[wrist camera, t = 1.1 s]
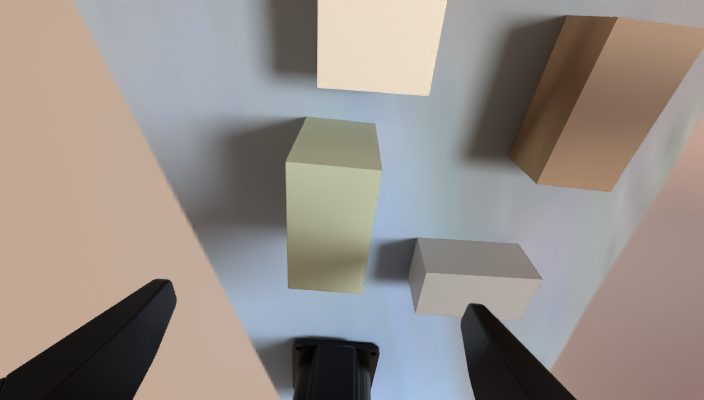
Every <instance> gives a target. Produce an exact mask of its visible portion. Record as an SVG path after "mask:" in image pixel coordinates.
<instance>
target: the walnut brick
mask: <svg viewBox="0 0 704 400" xmlns="http://www.w3.org/2000/svg"><path fill="white" fill-rule="evenodd" d="M703 47H704V29H701V28H694V27H686V26H679V25H672V24H664V23H657V22H650V21H642V20H635V19H628V18H620V17H599V16H572V15H567V16H566V19H565V21H564V24H563V26H562V28H561V31H560V33H559V36H558V38H557V41H556V43H555V45H554V48H553V50H552V53H551V55H550V57H549V60H548V62H547V65H546V67H545V70H544V72H543V74H542V77H541V79H540V82H539V84H538V86H537V89H536V91H535V94H534V96H533V98H532V101H531V103H530V106H529V108H528V111H527V113H526V115H525V118H524V120H523V123H522V125H521V127H520V130H519V132H518V135H517V137H516V140H515V142H514V144H513V147H512V149H511V152H510V154H509V157H510V158H511V159H512V160H513V161H514V162H515V163H516V164H517V165H518V166H519V167H520V168H521V169H522V170H523V171H524V172H525V173H526V174H527V175H528V176H529V177H530V178H531V179H532V180H533V181H534V182H535V183H536V184H542V185H551V186H560V187H569V188H578V189H588V190H597V191H606V192H610V191H611V190H612V188H613V187H614V185H615V184H616V182H617V181H618V179H619V177H620V176H621V174H622V173H623V171H624V170H625V168H626V167H627V165H628V163H629V162H630V160H631V159H632V157H633V156H634V154H635V153H636V151H637V150H638V148H639V146H640V145H641V143H642V142H643V140H644V139H645V137H646V136H647V134H648V133H649V131H650V129H651V128H652V126H653V125H654V123H655V122H656V120H657V119H658V117H659V115H660V114H661V112H662V111H663V109H664V108H665V106H666V105H667V103H668V102H669V100H670V98H671V97H672V95H673V94H674V92H675V91H676V89H677V88H678V86H679V84H680V83H681V81H682V80H683V78H684V77H685V75H686V74H687V72H688V71H689V69H690V67H691V66H692V64H693V63H694V61H695V60H696V58H697V57H698V55H699V53H700V52H701V50H702V49H703Z"/></svg>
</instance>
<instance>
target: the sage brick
mask: <svg viewBox="0 0 704 400" xmlns="http://www.w3.org/2000/svg"><path fill="white" fill-rule="evenodd" d="M381 175H382V166H381V159H380V153H379V146H378V139H377V133H376V126H375V123H365V122H355V121H345V120H335V119H325V118H315V117H306V119H305V121H304V123H303V125H302V128H301V130H300V132H299V134H298V136H297V138H296V140H295V143H294V145H293V147H292V149H291V151H290V153H289V155H288V157H287V160H286V211H287V261H288V288H290V289H302V290H315V291H328V292H341V293H353V294H362V291H363V284H364V278H365V272H366V266H367V260H368V254H369V248H370V242H371V236H372V230H373V224H374V218H375V211H376V205H377V199H378V193H379V187H380V181H381Z"/></svg>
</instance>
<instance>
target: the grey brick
mask: <svg viewBox="0 0 704 400" xmlns="http://www.w3.org/2000/svg"><path fill="white" fill-rule="evenodd" d="M408 278H409V284H410V289H411V294H412V299H413V305H414V310H415V314H427V315H444V316H462V317H463V315H464V312H465V310H466V308H467V306H468V304H470V303H478V304H483V305H484V306H486V307H487V308H488V309H489V311H490V312H491V313H492V314H493V315H494V316H495V317H496V318H497V319H515V320H521V318H522V316H523V315H524V313H525V311H526V309H527V307H528V306H529V304H530V302H531V300H532V299H533V297H534V295H535V293H536V291H537V290H538V288H539V286H540V284H541V282H542V281H543V279H542V277H541V276H540V275H539V273H538V272H537V270H536V269H535V267H534V266H533V264H532V263H531V261H530V260H529V258H528V257H527V255H526V254H525V253H524V251H523V250H522V248H521V247H520V245H519V244H511V243H496V242H480V241H464V240H448V239H433V238H417V241H416V245H415V250H414V254H413V258H412V262H411V267H410V271H409V275H408Z"/></svg>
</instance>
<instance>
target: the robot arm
mask: <svg viewBox="0 0 704 400" xmlns="http://www.w3.org/2000/svg"><path fill="white" fill-rule="evenodd" d="M176 302H177V300H176V295H175V291H174V288H173V285H172V282H171V281H170V280H168V279H155V280H152V281H151V282H150V283H148V284H146V285H145V286H143V287H142V288H140V289H139V290H137V291H135V292H134V293H133V294H131V295H129V296H128V297H126V298H125V299H124V300H122V301H120V302H119V303H117V304H116V305H114V306H113V307H111V308H109V309H108V310H106V311H105V312H103V313H102V314H100V315H99V316H97V317H95V318H94V319H92V320H91V321H90V322H88V323H86V324H85V325H83V326H82V327H80V328H79V329H77V330H76V331H74V332H72V333H71V334H69V335H68V336H66V337H65V338H63V339H62V340H60V341H59V342H57V343H56V344H54V345H52V346H51V347H49V348H48V349H46V350H45V351H43V352H42V353H40V354H39V355H37V356H36V357H34V358H32V359H31V360H30V361H28V362H26V363H25V364H23V365H22V366H20V367H19V368H17V369H16V370H14V371H12V372H11V373H10V374H8V375H7V376H6V378H2V379H0V400H133V398H134V396H135V394H136V392H137V390H138V388H139V386H140V384H141V383H142V381H143V379H144V377H145V375H146V373H147V371H148V369H149V367H150V366H151V364H152V362H153V359H154V357H155V355H156V353H157V351H158V348H159V346H160V343H161V341H162V338H163V336H164V333H165V331H166V329H167V326H168V323H169V321H170V318H171V316H172V314H173V311H174V309H175V306H176ZM461 331H462V337H463V343H464V349H465V355H466V361H467V367H468V372H469V378H470V382H471V386H472V389H473V393H474V397H475V400H576V398H575V397H574V396H573V395H572V394H571V393H570V392H569V391H568V390H567V389H566V388H565V387H564V386H563V385H562V384H561V383H560V382H559V381H558V380H557V379H556V378H555V377H554V376H553V375H552V374H551V373H550V372H549V371H548V370H547V369H546V368H545V367H544V366H543V365H542V364H541V363H540V362H539V361H538V360H537V359H536V358H535V356H534V355H533V354H532V353H531V352H530V351H529V350H528V349H527V348H526V347H525V346H524V345H523V344H522V343H521V342H520V341H519V340H518V339H517V338H516V337H515V336H514V335H513V334H512V333H511V332H510V331H509V330H508V329H507V328H506V327H505V326H504V325H503V324H502V323H501V322H500V321H499V320H498V319H497V318H496V317H495V316H494V315H493V314H492V313H491V312H490V311H489V309H488V308H487V307H486V306H484V305H483V304H478V303H470V304H468V306H467V308H466V310H465V312H464V315H463V317H462V319H461ZM292 354H293V388H294V395H293V400H371V387H372V383H373V378H374V374H375V370H376V366H377V362H378V358H379V347H378V346H376V345H369V344H355V343H341V342H327V341H313V340H295V341H294V343H293V348H292Z"/></svg>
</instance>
